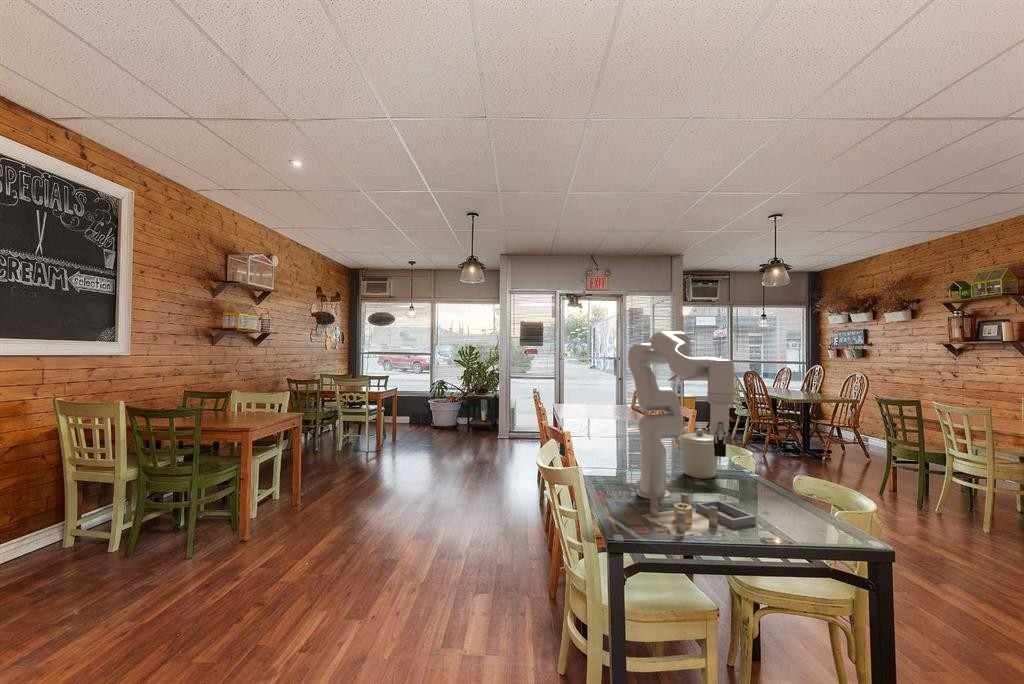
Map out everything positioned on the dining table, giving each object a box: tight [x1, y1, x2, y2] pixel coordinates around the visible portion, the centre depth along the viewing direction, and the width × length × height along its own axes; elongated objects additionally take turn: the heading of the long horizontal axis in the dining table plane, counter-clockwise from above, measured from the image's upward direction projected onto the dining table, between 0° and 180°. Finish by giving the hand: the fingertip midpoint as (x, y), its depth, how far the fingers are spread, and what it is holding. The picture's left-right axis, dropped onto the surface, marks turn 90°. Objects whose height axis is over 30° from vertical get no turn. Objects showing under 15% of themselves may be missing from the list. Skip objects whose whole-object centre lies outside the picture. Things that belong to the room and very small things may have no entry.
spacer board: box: [640, 492, 729, 538], centre depth 153 cm, size 18×20×7 cm
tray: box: [695, 499, 757, 529], centre depth 157 cm, size 16×10×4 cm, turn 21°
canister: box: [677, 428, 719, 480], centre depth 208 cm, size 18×18×21 cm
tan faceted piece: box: [673, 502, 693, 525], centre depth 153 cm, size 5×6×5 cm
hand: (719, 452), depth 145 cm, fingers open, 9 cm apart
